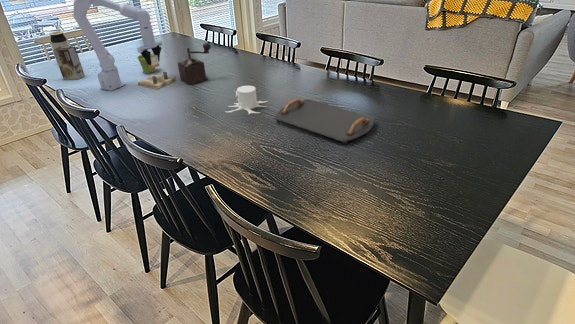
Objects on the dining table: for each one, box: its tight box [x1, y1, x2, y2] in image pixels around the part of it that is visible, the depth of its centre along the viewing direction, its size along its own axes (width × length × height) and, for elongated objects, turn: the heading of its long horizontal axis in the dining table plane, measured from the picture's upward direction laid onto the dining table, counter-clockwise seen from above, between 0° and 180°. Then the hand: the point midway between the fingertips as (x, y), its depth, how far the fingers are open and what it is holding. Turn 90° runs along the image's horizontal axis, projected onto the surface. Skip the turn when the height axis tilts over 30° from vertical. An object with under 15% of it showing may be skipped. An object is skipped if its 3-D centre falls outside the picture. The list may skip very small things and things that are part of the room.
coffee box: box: [52, 45, 86, 81], centre depth 202 cm, size 9×6×16 cm
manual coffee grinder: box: [177, 42, 212, 86], centre depth 193 cm, size 16×11×18 cm
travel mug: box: [48, 30, 69, 50], centre depth 225 cm, size 8×8×18 cm
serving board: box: [274, 98, 375, 146], centre depth 149 cm, size 39×23×6 cm, turn 51°
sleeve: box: [149, 55, 160, 68], centre depth 193 cm, size 5×5×5 cm
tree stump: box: [224, 85, 268, 115], centre depth 165 cm, size 20×19×8 cm
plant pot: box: [136, 53, 156, 74], centre depth 208 cm, size 9×9×9 cm
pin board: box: [137, 71, 176, 90], centre depth 194 cm, size 13×13×5 cm
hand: (153, 62), depth 194 cm, fingers closed on sleeve, 5 cm apart
